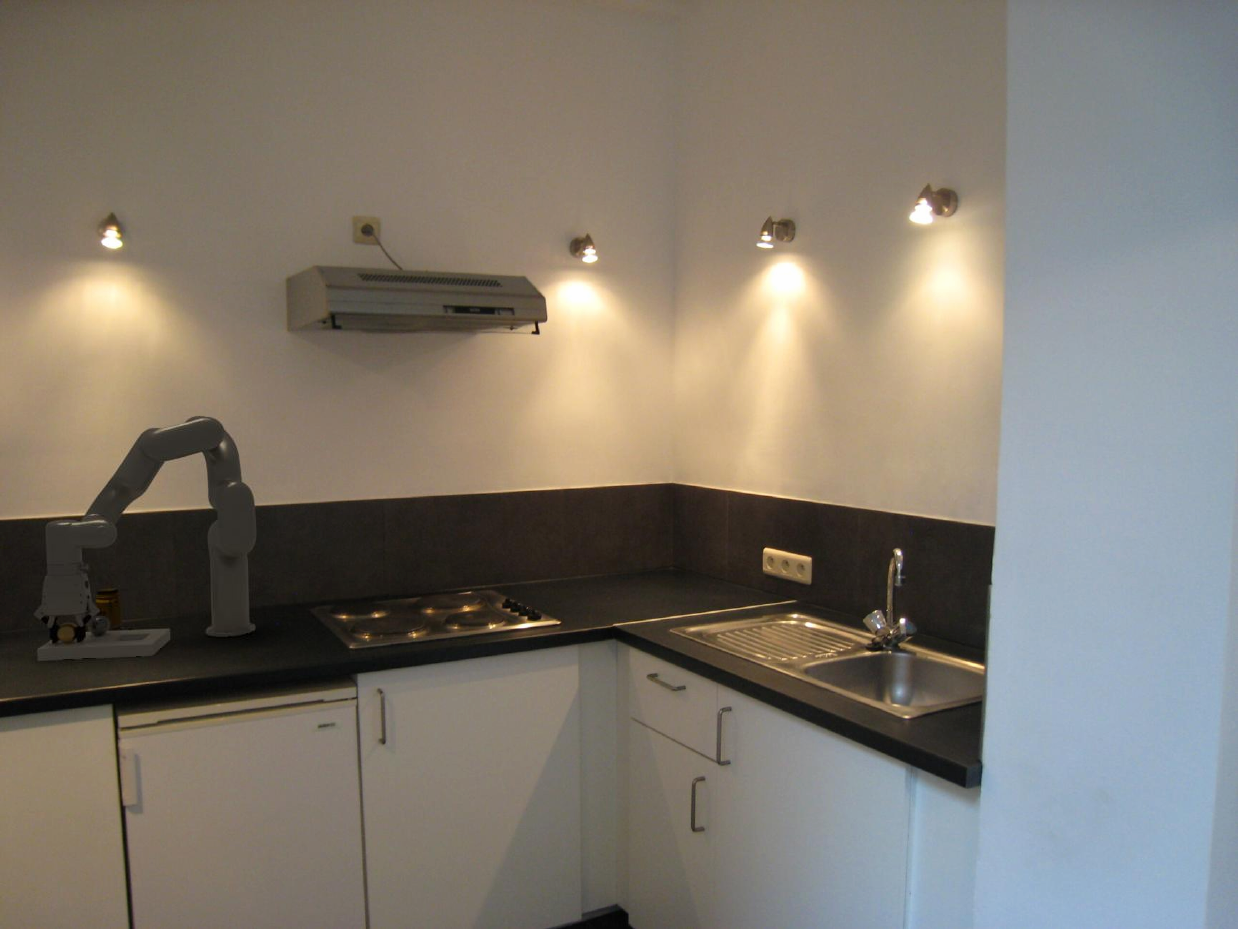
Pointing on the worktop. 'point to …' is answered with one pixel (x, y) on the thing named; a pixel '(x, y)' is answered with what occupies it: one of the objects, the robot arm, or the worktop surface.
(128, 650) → the hole plate
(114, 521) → the robot arm
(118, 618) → the condiment
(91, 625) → the steel ball
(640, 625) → the worktop surface
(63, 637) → the brass ball
